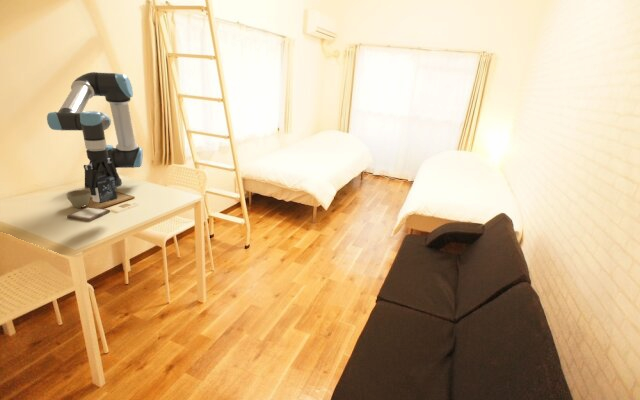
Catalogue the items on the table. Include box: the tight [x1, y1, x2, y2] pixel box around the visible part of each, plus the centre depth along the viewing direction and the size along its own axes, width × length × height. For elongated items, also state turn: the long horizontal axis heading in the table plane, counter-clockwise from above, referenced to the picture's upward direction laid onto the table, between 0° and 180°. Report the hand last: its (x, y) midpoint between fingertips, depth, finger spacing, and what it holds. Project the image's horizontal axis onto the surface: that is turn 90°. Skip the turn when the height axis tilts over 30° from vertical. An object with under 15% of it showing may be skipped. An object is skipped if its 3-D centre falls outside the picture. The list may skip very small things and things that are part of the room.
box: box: [92, 175, 118, 204], centre depth 149 cm, size 8×6×11 cm
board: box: [66, 206, 111, 222], centre depth 158 cm, size 12×12×1 cm
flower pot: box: [65, 189, 92, 209], centre depth 166 cm, size 10×10×7 cm
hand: (105, 197), depth 150 cm, fingers closed on box, 9 cm apart
